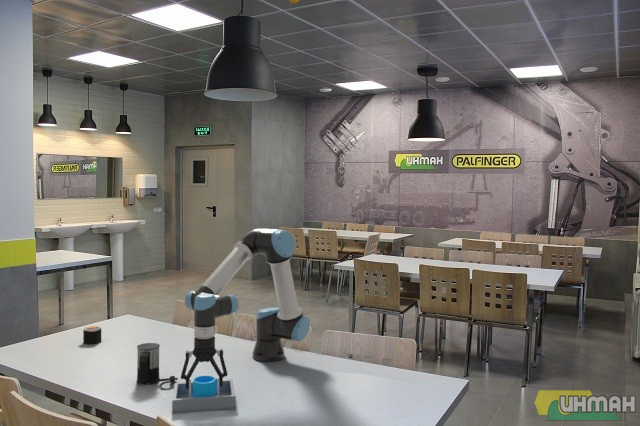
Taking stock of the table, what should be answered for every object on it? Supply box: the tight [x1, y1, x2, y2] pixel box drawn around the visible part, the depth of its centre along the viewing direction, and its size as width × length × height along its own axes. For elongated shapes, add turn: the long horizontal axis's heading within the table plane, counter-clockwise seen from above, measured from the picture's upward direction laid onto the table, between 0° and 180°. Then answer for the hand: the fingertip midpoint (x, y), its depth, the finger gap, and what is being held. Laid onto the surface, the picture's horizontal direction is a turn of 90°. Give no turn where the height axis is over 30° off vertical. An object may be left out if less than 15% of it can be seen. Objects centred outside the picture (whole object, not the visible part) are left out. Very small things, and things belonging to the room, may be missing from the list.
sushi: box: [82, 325, 102, 346], centre depth 267 cm, size 8×8×8 cm
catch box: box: [171, 379, 236, 415], centre depth 194 cm, size 22×17×5 cm
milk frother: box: [136, 342, 179, 386], centre depth 213 cm, size 14×16×15 cm
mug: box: [192, 375, 217, 398], centre depth 194 cm, size 12×8×8 cm
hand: (204, 395), depth 194 cm, fingers open, 10 cm apart
